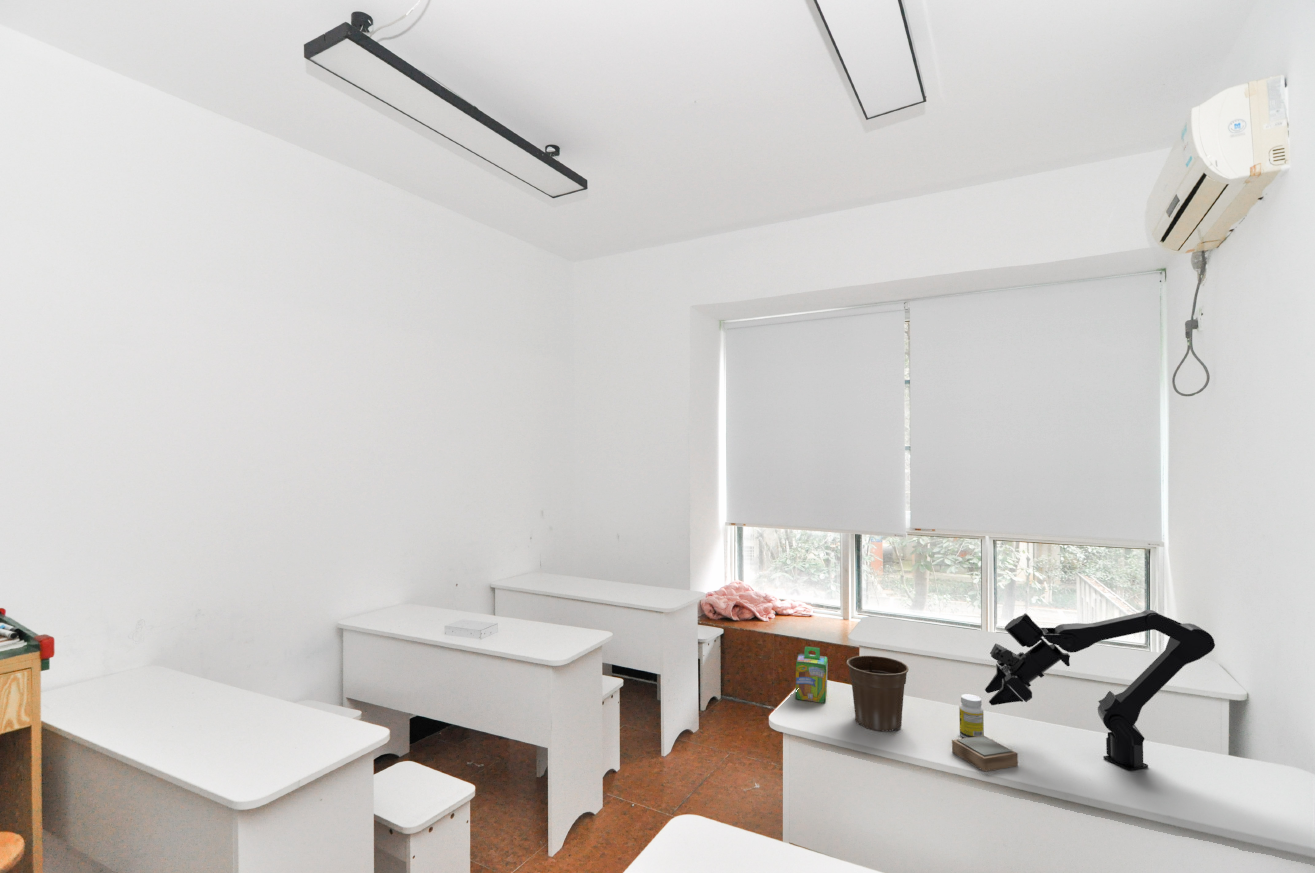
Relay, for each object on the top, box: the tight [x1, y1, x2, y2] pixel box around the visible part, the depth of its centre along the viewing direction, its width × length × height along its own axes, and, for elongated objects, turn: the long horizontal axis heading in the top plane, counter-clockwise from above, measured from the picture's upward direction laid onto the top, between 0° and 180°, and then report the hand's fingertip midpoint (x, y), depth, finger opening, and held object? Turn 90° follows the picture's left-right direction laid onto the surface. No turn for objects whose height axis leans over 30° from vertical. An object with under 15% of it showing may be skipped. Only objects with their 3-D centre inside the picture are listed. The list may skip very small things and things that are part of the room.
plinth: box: [951, 734, 1019, 773], centre depth 149 cm, size 10×10×3 cm
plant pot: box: [846, 655, 909, 732], centre depth 169 cm, size 16×16×16 cm
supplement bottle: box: [958, 693, 985, 738], centre depth 161 cm, size 6×6×10 cm
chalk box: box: [794, 646, 829, 704], centre depth 188 cm, size 9×9×15 cm
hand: (988, 697), depth 160 cm, fingers open, 9 cm apart
